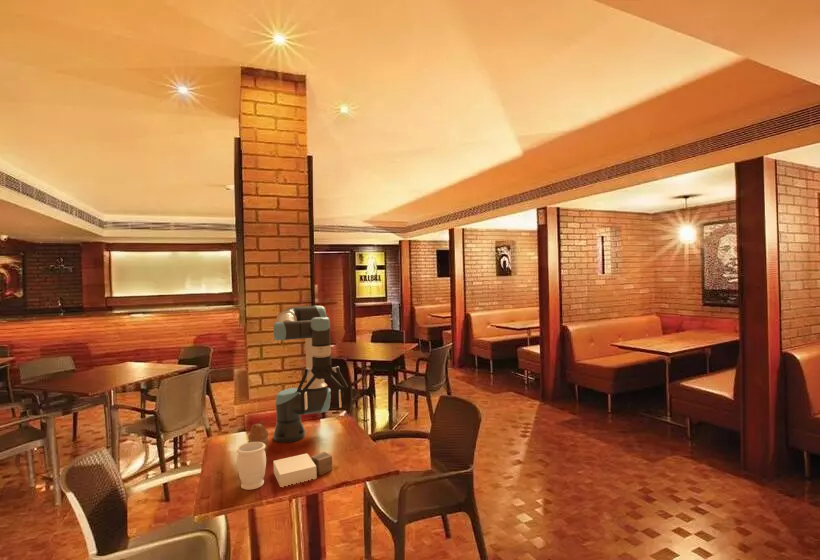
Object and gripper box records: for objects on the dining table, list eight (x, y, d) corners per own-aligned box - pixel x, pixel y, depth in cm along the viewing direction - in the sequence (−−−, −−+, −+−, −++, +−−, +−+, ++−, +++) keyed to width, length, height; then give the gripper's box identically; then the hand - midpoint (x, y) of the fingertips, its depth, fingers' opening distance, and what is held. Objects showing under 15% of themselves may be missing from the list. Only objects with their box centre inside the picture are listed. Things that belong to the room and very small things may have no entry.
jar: (272, 479, 171) (270, 442, 171) (257, 492, 161) (255, 453, 161) (248, 477, 174) (246, 440, 173) (232, 490, 164) (230, 451, 163)
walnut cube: (312, 470, 179) (311, 456, 178) (324, 465, 183) (324, 451, 182) (319, 475, 174) (319, 460, 174) (332, 470, 178) (331, 455, 178)
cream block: (273, 472, 177) (273, 460, 177) (307, 464, 184) (307, 453, 183) (280, 487, 165) (280, 474, 165) (316, 478, 171) (316, 466, 171)
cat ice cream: (256, 470, 180) (255, 427, 180) (244, 466, 184) (242, 424, 184) (273, 461, 188) (271, 420, 187) (261, 458, 192) (259, 417, 191)
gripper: (288, 359, 169) (290, 412, 170) (352, 355, 172) (354, 408, 173) (291, 355, 176) (293, 406, 177) (352, 352, 180) (354, 402, 180)
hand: (323, 407), depth 175 cm, fingers open, 13 cm apart
